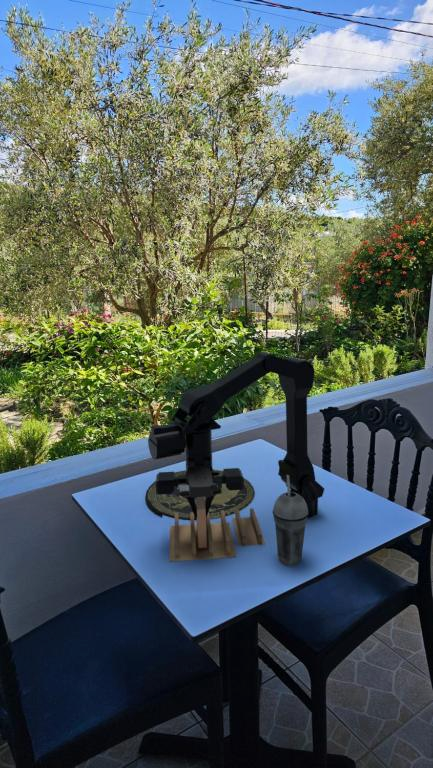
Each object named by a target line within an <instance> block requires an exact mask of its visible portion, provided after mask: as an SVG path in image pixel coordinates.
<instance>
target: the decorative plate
mask: <svg viewBox="0 0 433 768" xmlns="http://www.w3.org/2000/svg"><path fill="white" fill-rule="evenodd" d="M213 471H215V472H217V471H221V473H222V474H223V469H222V470H221V469H214V468H213ZM174 475H175V477H186V469H185V470H180V471H176V472H175V471H174ZM243 478H244V489H242V490H229V489H227V488H226V483H223V484H222V488H221V494H217V495H216V496H215V497H214V499H213V501H212V503H211V506H210V509H209V516H210V521H211V520H217V519H221V510H224V513H225V518H226V517H229V516H230V517H231V516H232V515H234V514H235V509H239V512H241V511H243V510H244V509H246V508H247V507H248V506H249V505H251V503H252V502H253V501H254V499H255V495H256V492H255V488H254V486H253V484H251V482H250V481H249V480H248V479H246V478H245V477H243ZM144 500H145V504H146V506H147V508H148V509H149V511H151V512H152V513H153V514H154V515H155V516H158V517H160V518H163V516H165V517H168V518H171V519H175V513H178V520H182V521H190V512H193V511H192V509H191V506H190V504H189V502H188V500H187V499H186V498H185V497H184V496H180V495H179V488H178V486H174V491H173V492H172V493H171V494H162V495H158V494H156V480H155V481H154V482H153V483H151V484H150V485H149V487H148V488H147V490H146V492H145V497H144ZM204 500H205V497H204ZM195 503H196V498H195ZM194 522H197V520H196V518H195V516H194Z"/></svg>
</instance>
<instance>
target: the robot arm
mask: <svg viewBox="0 0 433 768" xmlns="http://www.w3.org/2000/svg"><path fill="white" fill-rule="evenodd" d="M269 373H272V374H275V375H277V377H278V382H279V386H280V388H281V390H282V392H283V394H284V397H285V422H286V423H285V424H286V426H285V427H286V430H285V431H286V432H285V433H286V454H285V456H284V458H283V459H280V460H278V461H277V463H278V464H277V465H278V467H279V468H278V474H277V475H278V476H279V477H280V480H281V482H283V483H284V484H285V486H286V487H287V475H289V481H290V492H294V493H297V494H299V495H300V496H301V497H302V498H303V499H304V500H305V502H306V504H307V507H308V512H309V515H308V518H307V519H310V518H313V517H314V516H317V515H318V513H319V512H318V511H319V510H318V508H319V498H322V497H323V495H324V492H325V488H324V487H323V486H322V485H321V484H320V483H319V482H318V481H317V480H316V473H315V468H314V465H313V463H312V461H311V459H310V457H309V453H308V396H309V395H310V392H311V390H312V388H313V387H314V379H315V366H314V365H312V363H311V362H310V361H307V360H305V359H299V358H295V357H291V356H290V357H289V356H288V357H285V358H281V357H279V356H276V355H275V354H272V353H269V352H265V351H261V352H258V353H257V354H255V356H254V357H252V358H250V359H249V360H248V361H247V362H245V363H243V364H241V365H239V366H238V367H237V368H234V370H232V371H230V372H229V373H227V374H225V375H224V376H223V377H221V378H220V379H218V380H216V381H215V382H212V383H210V384H205V385H201V386H198V387H196V388H193V389H190V390H188V391H186V392H185V393H184V394H183V395H182V396H181V398H180V401H179V405H178V408H177V409H176V411H175V412H174V414H173V416H172V417H171V419H170V422H171V423H168V424H162V425H159V424H155V425H151V426H150V432H149V435H148V438H147V443H148V444H147V445H148V449H149V453H150V456H151V458H152V459H153V460H154V461H155V460H160V459H164V458H171V457H175V456H180V455H182V454H183V453H185V456H184V457H185V470H186V477H175V475H174V473H175V471H159V472H158V473H157V474H156V476H155V477H156V478H155V481H156V494H158V495H162V494H171V493H172V492H173V491H174V486H178V488H179V495H180V496H184V497H185V498H186V499H187V500H188V502H189V504H190V506H191V509H192V511H193V514H194V516H195V518H197V509H196V503H195V498H197V497H205V509H206V517H207V515H208V512H209V509H210V506H211V503H212V501H213V499H214V497H215V496H216V495H217V494H221V488H222V484H223V483H226V488H227V489H229V490H242V489H244V478H245V477H244V475H243V473H242V469H240V468H239V467H233V468H232V467H231V468H223V469H222V471H223V474H222V473H221V471H217V472H215V471H213V469H214V468H213V445H212V444H213V441H212V439H213V437H212V431H215V430H219V429H220V430H221V428H222V426H221V425H220V424H219V423H218V422H217V421H216V420H215V419H214V417H215V416H216V415H218V414H219V412H221V410H222V409H223V407H224V405H225V403H226V402H228V401H229V400H230V399H231V398H233V397H234V396H236V395H237V394H240V392H242V391H243V390H245V389H247V388H248V387H250V386H252V385H253V384H254V383H256V382H257V381H258V380H260V379H262V378H263V377H264V376H267V375H268V374H269ZM186 418H188V420H187V419H186Z"/></svg>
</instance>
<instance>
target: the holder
mask: <svg viewBox="0 0 433 768" xmlns="http://www.w3.org/2000/svg"><path fill="white" fill-rule="evenodd" d="M232 524H233V527H234V533H235V538H236V542H237V546H238V547H250V546H261V545H262V546H263V545H264V546H265V545H266V541H265V538H264V535H263V533H262V530H261V526H260V523H259V520H258V518H257V516H256V512H255V510H254V508H252V507H251V508H249V517H241V513H240V511H239V509H235V515H234V518H232Z"/></svg>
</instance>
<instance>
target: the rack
mask: <svg viewBox="0 0 433 768" xmlns="http://www.w3.org/2000/svg"><path fill="white" fill-rule="evenodd" d="M179 520H180V519H178V513H175V518H174V525H170V527H169V529H170V530H169V558H168V559H169V563H170V562H182V561H184V562H185V561H201V560H216V559H217V560H218V559H227V558H228V559H229V558H230V559H231V558H237V554H236V548H235V545H234V540H233V535H232V530H231V527H230V522H229V521H227V518H226V517H225V513H224V510H221V518H220V522H214V523H213V522H211V520H210V516H209V512H208V515H207V517H206V538H207V548H198V536H197V523H195V521H194V514H193V512H190V520H189V521H190V524H179V522H180V521H179Z"/></svg>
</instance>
